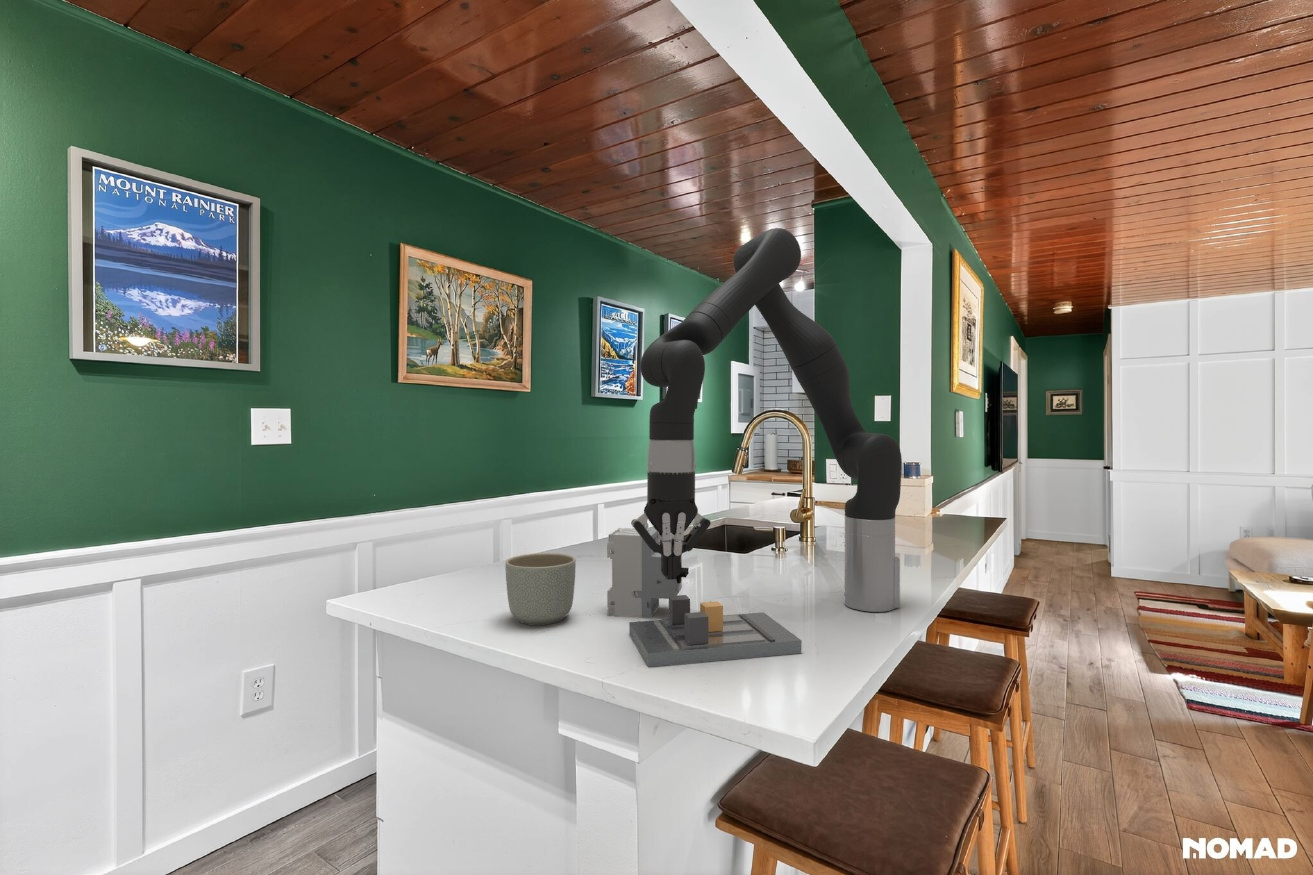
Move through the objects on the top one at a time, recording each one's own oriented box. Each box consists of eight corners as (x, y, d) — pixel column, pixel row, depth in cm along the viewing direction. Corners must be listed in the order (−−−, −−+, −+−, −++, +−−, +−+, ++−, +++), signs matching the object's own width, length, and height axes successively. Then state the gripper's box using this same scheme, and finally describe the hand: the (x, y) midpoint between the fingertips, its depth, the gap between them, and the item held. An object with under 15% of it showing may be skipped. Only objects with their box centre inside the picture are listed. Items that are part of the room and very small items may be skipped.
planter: (588, 614, 118) (588, 556, 118) (550, 634, 107) (549, 570, 107) (533, 606, 124) (532, 550, 123) (491, 625, 112) (490, 563, 112)
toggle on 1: (685, 618, 108) (685, 594, 108) (690, 623, 106) (690, 599, 106) (668, 619, 108) (668, 596, 107) (672, 624, 105) (672, 600, 105)
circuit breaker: (684, 620, 115) (684, 537, 114) (607, 615, 118) (607, 534, 117) (690, 608, 122) (690, 530, 122) (618, 604, 125) (617, 527, 125)
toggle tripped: (717, 625, 104) (717, 601, 104) (723, 630, 102) (723, 605, 102) (700, 627, 104) (700, 602, 103) (704, 632, 101) (704, 607, 101)
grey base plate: (763, 623, 113) (763, 611, 113) (801, 653, 98) (801, 639, 98) (629, 633, 107) (629, 620, 107) (648, 667, 93) (648, 651, 93)
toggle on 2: (703, 637, 98) (703, 611, 98) (708, 643, 96) (708, 616, 96) (684, 639, 98) (684, 613, 98) (689, 644, 95) (689, 618, 95)
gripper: (704, 467, 106) (703, 571, 106) (625, 467, 103) (625, 574, 103) (719, 470, 99) (717, 582, 99) (634, 470, 96) (633, 586, 96)
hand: (670, 578), depth 101 cm, fingers closed
